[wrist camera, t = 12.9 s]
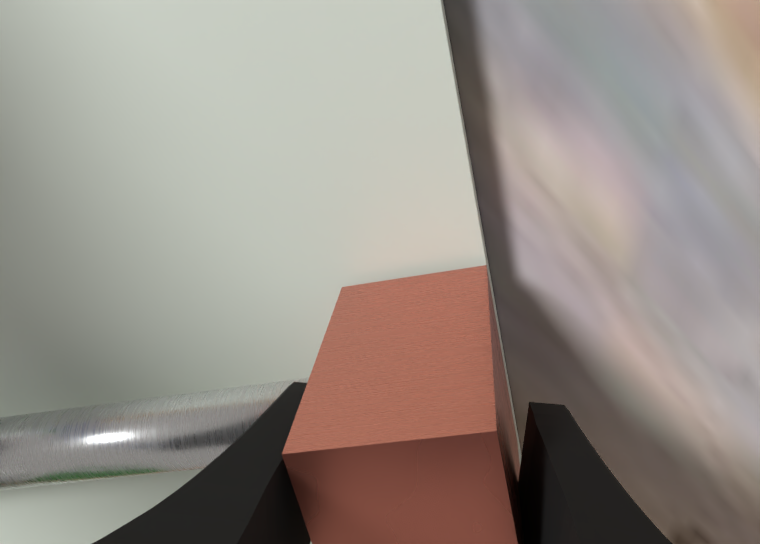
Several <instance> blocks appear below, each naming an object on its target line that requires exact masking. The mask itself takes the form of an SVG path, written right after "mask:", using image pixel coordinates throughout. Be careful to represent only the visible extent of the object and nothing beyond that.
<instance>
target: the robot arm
mask: <svg viewBox="0 0 760 544" xmlns="http://www.w3.org/2000/svg"><path fill="white" fill-rule="evenodd" d="M306 385H307V383H303V382H293V383H292V384H291V385H289V386H288V387H287V388H286V389H285V390H284V391H283V393H282V394H281V395H280V396H279V397H278V398H277V399H276V400H275V401H274V402H273V403H272V404H271V405H270V406H269V408H268V409H267V410H266V411H265V412H264V413H263V414H262V415H261V416H260V417H259V418H258V419H257V420H256V421H255V422H254V423H253V424H252V425H251V426H250V427H249V428H248V429H247V430H246V431H245V432H244V433H243V434H242V435H241V436H240V437H239V438H237V439H236V440H235V441H234V442H233V443H232V444H231V445H230V446H229V447H228V448H227V449H226V450H225V451H224V452H222V453H221V454H220V455H219V456H218V457H217V458H215V459H214V460H213V461H212V462H211V463H210V464H208V465H207V466H206V467H205V468H204V469H203V470H202V471H200V472H199V473H198V474H197V475H196V476H194V477H193V478H192V479H191V480H189V481H188V482H187V483H185V484H184V485H183V486H182V487H180V488H179V489H178V490H176V491H175V492H174V493H172V494H171V495H170V496H168V497H167V498H165V499H164V500H163V501H161V502H160V503H158V504H157V505H155V506H154V507H152V508H151V509H149V510H148V511H146V512H145V513H143V514H141V515H140V516H138V517H136V518H135V519H133V520H131V521H130V522H128V523H126V524H125V525H123V526H121V527H120V528H118V529H116V530H115V531H113V532H112V533H110V534H108V535H107V536H105V537H103V538H101V539H99V540H98V541H96V542H94V543H92V544H310V542H311V539H310V536H309V533H308V530H307V527H306V524H305V521H304V518H303V515H302V512H301V510H300V507H299V504H298V501H297V498H296V495H295V492H294V489H293V486H292V483H291V480H290V477H289V474H288V471H287V468H286V465H285V462H284V460H283V457H282V452H283V449H284V446H285V444H286V441H287V438H288V435H289V432H290V430H291V427H292V424H293V421H294V419H295V416H296V413H297V410H298V408H299V405H300V402H301V399H302V396H303V394H304V391H305V388H306ZM518 486H519V497H520V507H521V518H522V527H523V536H524V544H672V543H671V542H670V541H669V540H668V539H667V538H666V537H665V536H664V535H663V534H662V533H661V532H660V531H659V529H658V528H657V527H656V526H655V525H654V524H653V523H652V522H651V520H650V519H649V518H648V517H647V516H646V515H645V514H644V512H643V511H642V510H641V509H640V508H639V507H638V505H637V504H636V503H635V502H634V501H633V499H632V498H631V497H630V496H629V494H628V493H627V492H626V491H625V490H624V488H623V487H622V486H621V484H620V483H619V482H618V480H617V479H616V478H615V477H614V475H613V474H612V473H611V471H610V470H609V469H608V467H607V466H606V465H605V463H604V462H603V461H602V459H601V458H600V456H599V455H598V454H597V452H596V451H595V449H594V448H593V446H592V445H591V444H590V442H589V441H588V439H587V438H586V436H585V435H584V433H583V432H582V430H581V429H580V427H579V426H578V424H577V423H576V421H575V420H574V418H573V417H572V415H571V413H570V412H569V410H568V409H567V408H566V407H565V406H564V405H557V404H546V403H534V402H529V408H528V415H527V422H526V429H525V436H524V443H523V450H522V457H521V464H520V471H519V478H518Z"/></svg>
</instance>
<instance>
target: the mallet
mask: <svg viewBox="0 0 760 544" xmlns="http://www.w3.org/2000/svg"><path fill="white" fill-rule="evenodd" d="M293 382H303V383H307V385H306V388H305V391H304V394H303V396H302V399H301V402H300V405H299V408H298V410H297V413H296V416H295V419H294V421H293V424H292V427H291V430H290V432H289V435H288V438H287V441H286V444H285V446H284V449H283V452H282V457H283V460H284V462H285V465H286V468H287V471H288V474H289V477H290V480H291V483H292V486H293V489H294V492H295V495H296V498H297V501H298V504H299V507H300V510H301V512H302V515H303V518H304V521H305V524H306V527H307V530H308V533H309V536H310V539H311V542H312V544H524V536H523V527H522V518H521V507H520V497H519V486H518V478H519V471H520V463H519V453H518V443H517V437H516V431H515V425H514V420H513V414H512V408H511V402H510V397H509V391H508V385H507V379H506V374H505V368H504V362H503V356H502V351H501V345H500V339H499V333H498V328H497V322H496V316H495V311H494V305H493V299H492V293H491V288H490V282H489V276H488V270H487V265H483V266H477V267H470V268H464V269H457V270H451V271H444V272H437V273H431V274H424V275H418V276H411V277H405V278H398V279H392V280H385V281H379V282H372V283H365V284H359V285H352V286H346V287H342V288H341V291H340V294H339V296H338V299H337V302H336V305H335V308H334V310H333V313H332V316H331V319H330V321H329V324H328V327H327V330H326V333H325V335H324V338H323V341H322V344H321V346H320V349H319V352H318V355H317V358H316V360H315V363H314V366H313V369H312V371H311V374H310V377H309V378H302V379H294V380H286V381H279V382H271V383H263V384H255V385H248V386H240V387H232V388H224V389H217V390H209V391H201V392H193V393H186V394H178V395H170V396H162V397H154V398H147V399H139V400H131V401H123V402H116V403H108V404H100V405H92V406H85V407H77V408H69V409H61V410H54V411H46V412H38V413H30V414H22V415H15V416H7V417H0V490H9V489H18V488H27V487H37V486H46V485H56V484H65V483H74V482H84V481H93V480H103V479H112V478H121V477H131V476H140V475H150V474H159V473H168V472H178V471H187V470H197V469H204V468H205V467H206V466H207V465H208V464H210V463H211V462H212V461H213V460H214V459H215V458H217V457H218V456H219V455H220V454H221V453H222V452H224V451H225V450H226V449H227V448H228V447H229V446H230V445H231V444H232V443H233V442H234V441H235V440H236V439H237V438H239V437H240V436H241V435H242V434H243V433H244V432H245V431H246V430H247V429H248V428H249V427H250V426H251V425H252V424H253V423H254V422H255V421H256V420H257V419H258V418H259V417H260V416H261V415H262V414H263V413H264V412H265V411H266V410H267V409H268V408H269V406H270V405H271V404H272V403H273V402H274V401H275V400H276V399H277V398H278V397H279V396H280V395H281V394H282V393H283V391H284V390H285V389H286V388H287V387H288V386H289V385H291V384H292V383H293Z"/></svg>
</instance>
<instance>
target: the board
mask: <svg viewBox="0 0 760 544" xmlns="http://www.w3.org/2000/svg"><path fill="white" fill-rule="evenodd" d="M483 265H487V270H488V276H489V282H490V288H491V293H492V299H493V305H494V311H495V316H496V322H497V328H498V333H499V339H500V345H501V351H502V356H503V362H504V368H505V374H506V379H507V385H508V391H509V397H510V402H511V408H512V414H513V420H514V425H515V431H516V437H517V443H518V453H519V463H520V464H521V457H522V455H521V449H520V443H519V437H518V432H517V426H516V420H515V414H514V408H513V403H512V397H511V391H510V385H509V380H508V374H507V368H506V362H505V356H504V351H503V345H502V339H501V333H500V328H499V322H498V316H497V310H496V304H495V299H494V293H493V287H492V281H491V275H490V270H489V264H488V258H487V252H486V247H485V241H484V235H483V229H482V223H481V218H480V212H479V206H478V200H477V195H476V189H475V183H474V177H473V171H472V166H471V160H470V154H469V148H468V142H467V137H466V131H465V125H464V119H463V114H462V108H461V102H460V96H459V90H458V85H457V79H456V73H455V67H454V62H453V56H452V50H451V44H450V38H449V33H448V27H447V21H446V15H445V10H444V4H443V0H0V417H7V416H15V415H22V414H30V413H38V412H46V411H54V410H61V409H69V408H77V407H85V406H92V405H100V404H108V403H116V402H123V401H131V400H139V399H147V398H154V397H162V396H170V395H178V394H186V393H193V392H201V391H209V390H217V389H224V388H232V387H240V386H248V385H255V384H263V383H271V382H279V381H286V380H294V379H302V378H309V377H310V374H311V371H312V369H313V366H314V363H315V360H316V358H317V355H318V352H319V349H320V346H321V344H322V341H323V338H324V335H325V333H326V330H327V327H328V324H329V321H330V319H331V316H332V313H333V310H334V308H335V305H336V302H337V299H338V296H339V294H340V291H341V288H342V287H346V286H352V285H359V284H365V283H372V282H379V281H385V280H392V279H398V278H405V277H411V276H418V275H424V274H431V273H437V272H444V271H451V270H457V269H464V268H470V267H477V266H483ZM202 470H203V469H197V470H187V471H178V472H168V473H159V474H150V475H140V476H131V477H121V478H112V479H103V480H93V481H84V482H74V483H65V484H56V485H46V486H37V487H27V488H18V489H9V490H0V544H92V543H94V542H96V541H98V540H99V539H101V538H103V537H105V536H107V535H108V534H110V533H112V532H113V531H115V530H116V529H118V528H120V527H121V526H123V525H125V524H126V523H128V522H130V521H131V520H133V519H135V518H136V517H138V516H140V515H141V514H143V513H145V512H146V511H148V510H149V509H151V508H152V507H154V506H155V505H157V504H158V503H160V502H161V501H163V500H164V499H165V498H167V497H168V496H170V495H171V494H172V493H174V492H175V491H176V490H178V489H179V488H180V487H182V486H183V485H184V484H185V483H187V482H188V481H189V480H191V479H192V478H193V477H194V476H196V475H197V474H198V473H199V472H200V471H202ZM310 544H312V542H310Z"/></svg>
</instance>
